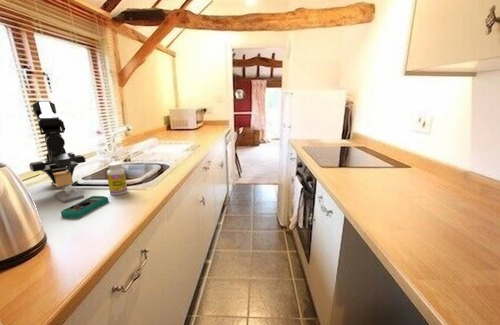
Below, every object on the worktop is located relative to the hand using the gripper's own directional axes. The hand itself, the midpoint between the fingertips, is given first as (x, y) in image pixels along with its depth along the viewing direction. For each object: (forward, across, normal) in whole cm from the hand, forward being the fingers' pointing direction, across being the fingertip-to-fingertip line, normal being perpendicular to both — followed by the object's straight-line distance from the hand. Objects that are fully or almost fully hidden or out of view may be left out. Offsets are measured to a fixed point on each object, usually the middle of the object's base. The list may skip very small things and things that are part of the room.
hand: (62, 181), depth 111 cm
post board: (+4, -2, -10) cm, 11 cm away
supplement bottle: (+4, +13, -23) cm, 27 cm away
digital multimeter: (+5, -2, -30) cm, 30 cm away
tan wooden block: (+1, 0, 0) cm, 1 cm away
